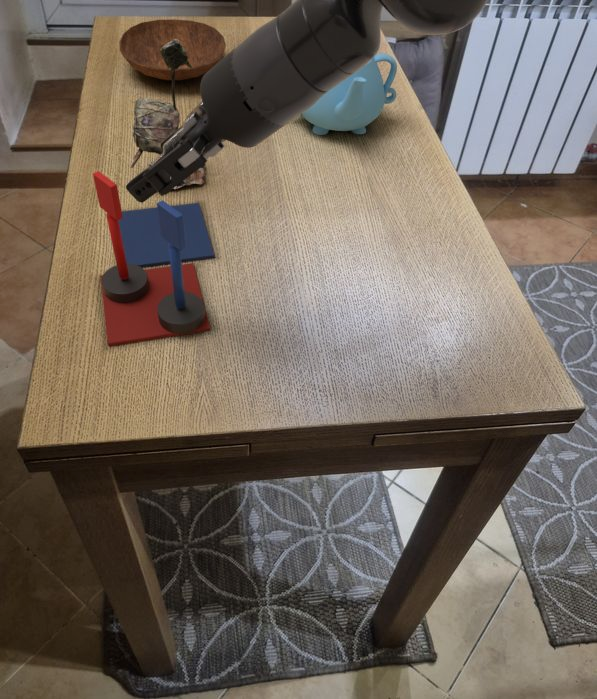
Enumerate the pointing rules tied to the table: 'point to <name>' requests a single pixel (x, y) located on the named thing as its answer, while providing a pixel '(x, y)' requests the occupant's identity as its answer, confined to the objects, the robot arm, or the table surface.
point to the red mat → (147, 309)
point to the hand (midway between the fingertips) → (151, 172)
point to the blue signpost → (177, 278)
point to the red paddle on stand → (118, 249)
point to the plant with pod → (161, 114)
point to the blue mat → (151, 247)
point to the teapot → (354, 100)
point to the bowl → (151, 36)
